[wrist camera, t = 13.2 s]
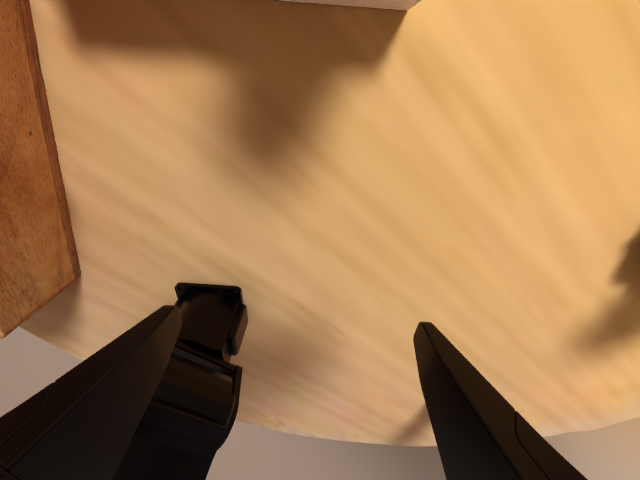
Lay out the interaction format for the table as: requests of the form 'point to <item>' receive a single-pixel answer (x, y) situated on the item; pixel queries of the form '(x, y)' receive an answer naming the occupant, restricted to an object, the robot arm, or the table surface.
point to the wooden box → (29, 180)
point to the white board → (367, 3)
